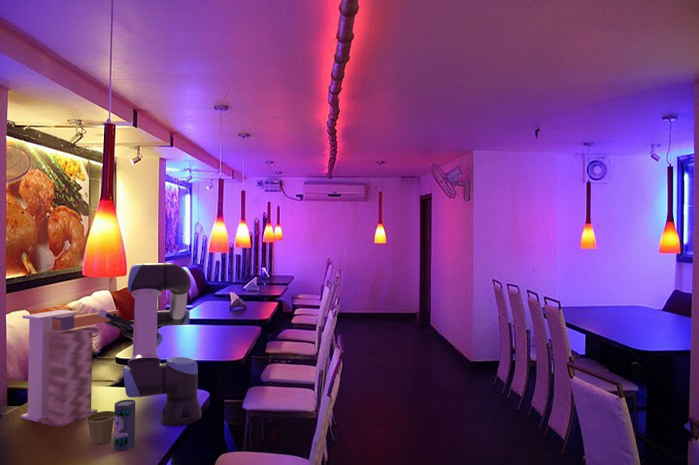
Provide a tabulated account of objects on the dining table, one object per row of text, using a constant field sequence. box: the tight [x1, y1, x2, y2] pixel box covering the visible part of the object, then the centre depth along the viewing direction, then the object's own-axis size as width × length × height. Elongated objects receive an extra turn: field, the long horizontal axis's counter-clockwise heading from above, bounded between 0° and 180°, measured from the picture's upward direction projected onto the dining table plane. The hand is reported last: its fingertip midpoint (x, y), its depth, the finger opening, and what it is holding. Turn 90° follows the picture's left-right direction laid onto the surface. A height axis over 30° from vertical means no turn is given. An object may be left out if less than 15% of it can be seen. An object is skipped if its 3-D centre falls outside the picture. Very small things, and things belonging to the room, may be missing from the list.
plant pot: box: [85, 410, 114, 445], centre depth 158 cm, size 9×9×9 cm
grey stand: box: [20, 309, 79, 423], centre depth 182 cm, size 16×10×40 cm, turn 158°
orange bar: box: [52, 309, 120, 331], centre depth 185 cm, size 26×5×5 cm, turn 158°
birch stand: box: [40, 326, 100, 428], centre depth 178 cm, size 16×10×34 cm, turn 158°
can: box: [113, 399, 136, 452], centre depth 154 cm, size 6×6×15 cm
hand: (95, 311), depth 188 cm, fingers closed on orange bar, 4 cm apart
